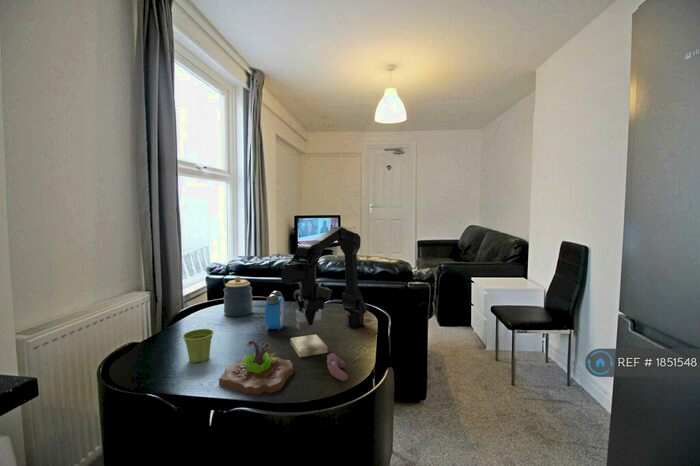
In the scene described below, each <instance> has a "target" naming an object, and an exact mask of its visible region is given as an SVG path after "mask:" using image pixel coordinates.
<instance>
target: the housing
mask: <svg viewBox="0 0 700 466" xmlns="http://www.w3.org/2000/svg"><path fill="white" fill-rule="evenodd" d="M295 327H296V329H297V330H298V331H299V332H300V331H308V330H315V329H316V330H317V329H321V328H322V309H319V310H317V311H316V314H315V317H314V321H313V324H312V325H309V324H308V321H307V318H306V316H305V313H304V310H303V309H300V308H299V307H298V308H297V309H295Z"/></svg>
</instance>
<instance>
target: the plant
mask: <svg viewBox="0 0 700 466" xmlns="http://www.w3.org/2000/svg"><path fill="white" fill-rule="evenodd" d="M252 345H253V346H254V348H255V349H254V350H255V352H254V353H253V354H252V355H250V354H245V355H244V358H242V359H240V360H238V361H235V362H234V363H232V364H231V365H229V366H228V367H226V368H225V369H224V373H223V374H222V375H221V376H220V377H219V378H218V386H220V387H222V388H226V389H229V390H232V391H236V392H242V393H243V394H245V395H249V394H250V395H253V396H254V395H255V396H257V395H260V394H262V393H267V394H272V393H274V392H278V391H279V390H281V389H282V388H283V387H284V385H285V383H286V381H287V380H288V379H289V378H290V376H292V375H294V364H293V362H292V361H291V359H282V358H280V357H279V356H275V352H274V351H273V350H271V349H270V348H271V344H270V343H265V344H264V345H262V347H261V349H260V348H259V345H258V344H257V342H255V341H253V340H249V341H247V342H246V346H247V347H251V346H252ZM265 348H266V349H265ZM268 352H269V353H268Z"/></svg>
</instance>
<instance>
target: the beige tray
mask: <svg viewBox="0 0 700 466" xmlns="http://www.w3.org/2000/svg"><path fill="white" fill-rule="evenodd" d="M289 340H290V341H289V343H290V346H292V348H293V349H294V351H295V353H296V354H297V356H298V358H303V357H304V358H305V357H309V356H316V355H321V354H326V353H328V352H329V351H328V350H329V347H328V345H327V344H326V343H325V342H324V341H323V340H322V339H321V338H320V337H319V336H318V335H317V334H309V335H303V336H295V337H290V339H289Z"/></svg>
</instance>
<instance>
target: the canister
mask: <svg viewBox="0 0 700 466" xmlns="http://www.w3.org/2000/svg"><path fill="white" fill-rule="evenodd" d="M224 286H225V287H224V288H223V292H224V296H223V313H224V316H226V317H228V318H239V317H240V318H241V317H246V316H249V315H251V314H252V313H253V294H252V290H253V287H252V286H251V282H249V281H248V280H247V279H242V278H241V277H240V276H235V278H234V279H232V280H231V279H230V280H229V281H227V282H226V283H225V284H224Z"/></svg>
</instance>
